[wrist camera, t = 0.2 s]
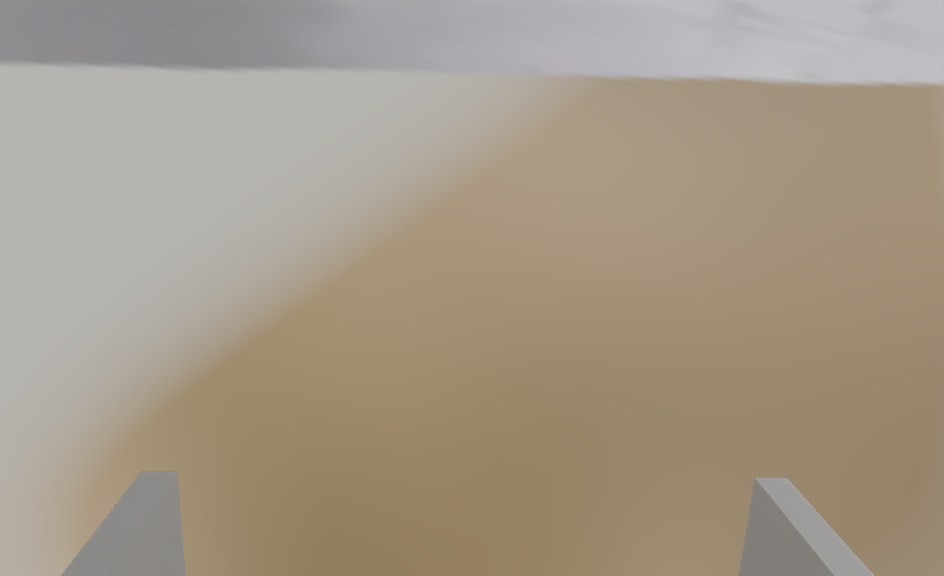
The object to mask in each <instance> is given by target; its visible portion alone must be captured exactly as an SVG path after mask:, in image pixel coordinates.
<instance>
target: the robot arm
mask: <svg viewBox="0 0 944 576" xmlns="http://www.w3.org/2000/svg"><path fill="white" fill-rule="evenodd" d="M61 576H185V565H184V552H183V540H182V528H181V515H180V503H179V491H178V478H177V472H162V471H161V472H160V471H158V472H157V471H142V472H141V473H140V474H139V475H138V477H137V478H136V479H135V481H134V482H133V483H132V484H131V486H130V487H129V488H128V490H127V491H126V492H125V494H124V495H123V496H122V497H121V499H120V500H119V501H118V503H117V504H116V505H115V506H114V508H113V509H112V510H111V512H110V513H109V514H108V516H107V517H106V518H105V519H104V521H103V522H102V523H101V525H100V526H99V527H98V529H97V530H96V531H95V532H94V534H93V535H92V536H91V538H90V539H89V540H88V541H87V543H86V544H85V546H84V547H83V548H82V549H81V551H80V552H79V553H78V554H77V556H76V557H75V558H74V560H73V561H72V562H71V564H70V565H69V566H68V568H67V569H66V570H65V571H64V573H63V574H62V575H61ZM739 576H874V575H873V574H872V573H871V572H870V570H869V569H868V568H867V567H866V566H865V565H864V564H863V563H862V562H861V560H860V559H859V558H858V557H857V556H856V555H855V554H854V553H853V552H852V550H851V549H850V548H849V547H848V546H847V545H846V544H845V543H844V541H843V540H842V539H841V538H840V537H839V536H838V535H837V534H836V532H835V531H834V530H833V529H832V528H831V527H830V526H829V525H828V524H827V522H826V521H825V520H824V519H823V518H822V517H821V516H820V515H819V514H818V512H817V511H816V510H815V509H814V508H813V507H812V506H811V504H810V503H809V502H808V501H807V500H806V499H805V498H804V497H803V496H802V494H801V493H800V492H799V491H798V490H797V489H796V488H795V487H794V485H793V484H792V483H791V482H790V481H789V480H788V479H787V478H755V480H754V486H753V493H752V499H751V505H750V511H749V518H748V524H747V530H746V536H745V542H744V548H743V554H742V561H741V566H740V573H739Z"/></svg>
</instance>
